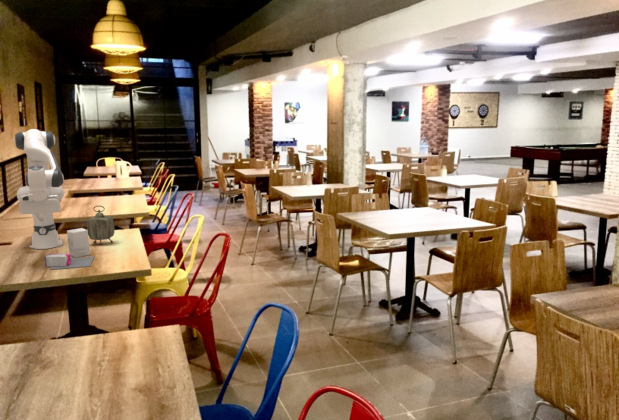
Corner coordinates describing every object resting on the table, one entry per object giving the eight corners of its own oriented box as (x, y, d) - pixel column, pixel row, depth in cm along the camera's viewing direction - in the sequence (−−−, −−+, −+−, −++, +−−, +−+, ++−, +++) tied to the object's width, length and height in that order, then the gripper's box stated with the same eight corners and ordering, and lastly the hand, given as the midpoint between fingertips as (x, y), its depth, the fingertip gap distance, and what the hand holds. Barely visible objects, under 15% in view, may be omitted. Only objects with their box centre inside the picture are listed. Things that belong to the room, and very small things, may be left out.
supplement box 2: (84, 252, 309) (82, 227, 306) (90, 254, 303) (88, 230, 300) (68, 255, 303) (66, 230, 300) (74, 257, 297) (72, 232, 294)
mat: (56, 260, 292) (56, 259, 292) (94, 257, 298) (94, 256, 298) (49, 270, 273) (49, 269, 273) (90, 266, 279) (90, 265, 279)
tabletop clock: (115, 242, 332) (112, 204, 327) (110, 245, 323) (107, 206, 318) (93, 242, 332) (89, 204, 327) (87, 246, 323) (83, 207, 318)
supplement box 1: (45, 266, 278) (65, 266, 277) (44, 256, 277) (64, 256, 276) (51, 263, 284) (71, 263, 283) (50, 253, 283) (70, 253, 282)
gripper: (61, 194, 283) (63, 218, 286) (19, 196, 277) (22, 221, 280) (59, 196, 277) (61, 221, 280) (16, 198, 272) (19, 223, 274)
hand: (41, 221), depth 280 cm, fingers closed
